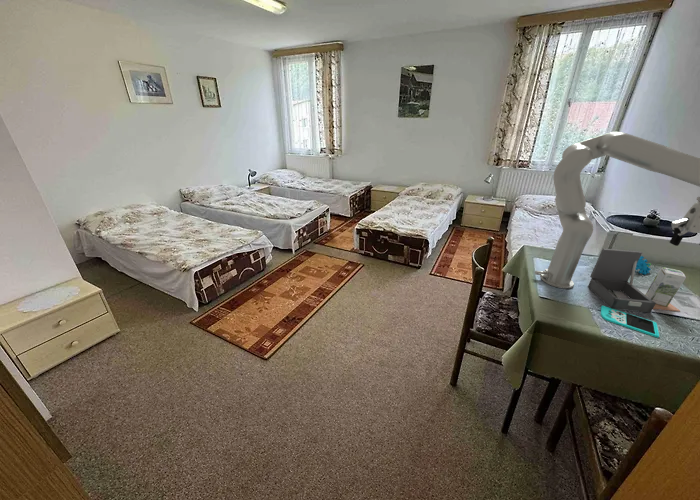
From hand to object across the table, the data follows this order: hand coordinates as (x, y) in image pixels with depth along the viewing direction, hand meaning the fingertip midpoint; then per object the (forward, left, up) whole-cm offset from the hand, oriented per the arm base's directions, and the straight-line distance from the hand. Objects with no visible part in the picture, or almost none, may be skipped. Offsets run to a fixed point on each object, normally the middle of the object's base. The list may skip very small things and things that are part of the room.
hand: (688, 245), depth 106 cm
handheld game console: (-19, -16, -27) cm, 37 cm away
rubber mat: (0, 0, -26) cm, 26 cm away
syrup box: (0, 0, -26) cm, 26 cm away
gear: (+13, +29, -26) cm, 41 cm away
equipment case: (-14, 0, -26) cm, 30 cm away
